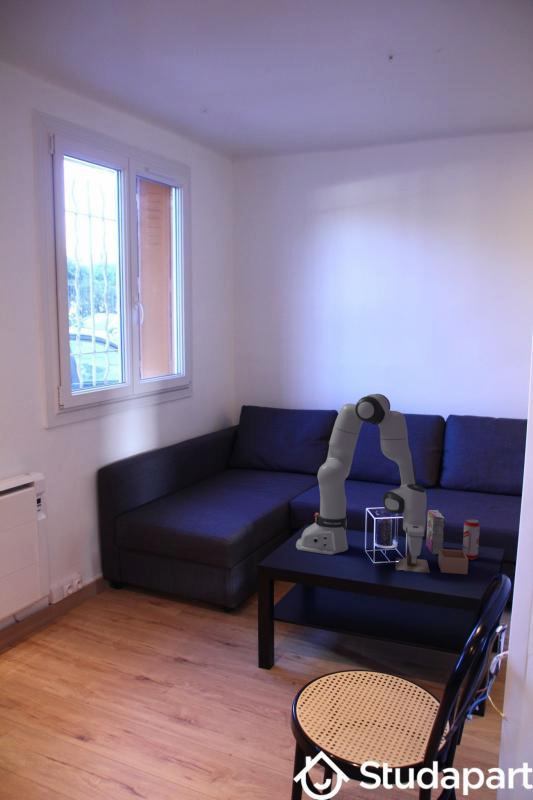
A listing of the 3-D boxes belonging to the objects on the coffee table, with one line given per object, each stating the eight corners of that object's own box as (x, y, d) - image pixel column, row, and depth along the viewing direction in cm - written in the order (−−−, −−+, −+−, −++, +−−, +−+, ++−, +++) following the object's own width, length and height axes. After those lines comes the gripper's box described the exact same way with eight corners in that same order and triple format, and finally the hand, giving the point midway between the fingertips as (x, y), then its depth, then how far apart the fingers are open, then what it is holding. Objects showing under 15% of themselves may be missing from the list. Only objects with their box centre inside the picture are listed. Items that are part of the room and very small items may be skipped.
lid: (395, 571, 249) (396, 559, 248) (394, 559, 262) (395, 548, 261) (429, 574, 247) (430, 562, 246) (426, 562, 260) (427, 550, 259)
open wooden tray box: (441, 572, 248) (442, 557, 247) (438, 562, 258) (438, 548, 257) (467, 574, 246) (468, 559, 246) (463, 564, 256) (464, 550, 255)
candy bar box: (425, 545, 278) (427, 509, 276) (436, 545, 278) (438, 509, 276) (431, 554, 267) (433, 517, 265) (443, 555, 267) (445, 517, 265)
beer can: (475, 555, 267) (478, 518, 265) (479, 560, 261) (481, 523, 259) (460, 554, 268) (462, 518, 266) (463, 559, 262) (466, 522, 260)
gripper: (404, 517, 263) (402, 548, 265) (408, 532, 243) (406, 567, 245) (419, 517, 262) (418, 549, 264) (424, 533, 242) (423, 568, 244)
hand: (412, 558), depth 254 cm, fingers open, 8 cm apart
